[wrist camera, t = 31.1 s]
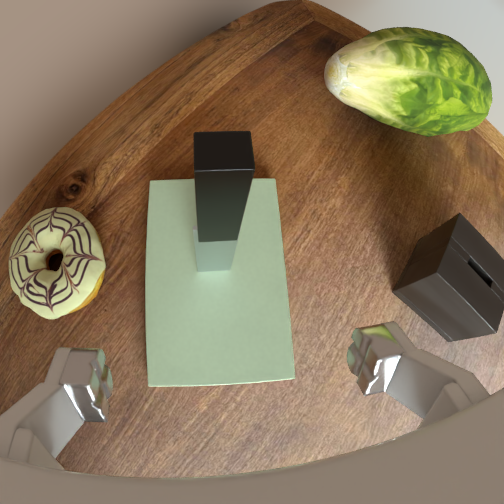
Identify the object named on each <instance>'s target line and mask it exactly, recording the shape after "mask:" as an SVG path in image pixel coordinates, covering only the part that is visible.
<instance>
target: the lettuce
mask: <svg viewBox="0 0 504 504" xmlns="http://www.w3.org/2000/svg"><path fill="white" fill-rule="evenodd" d="M324 79H325V84H326V86H327V89H328V90H329V91H330V92H331V93H332V94H333V95H334V96H335V97H336V98H337V99H339V100H340V101H342V102H343V103H344V104H346V105H349V106H351V107H353V108H355V109H358V110H360V111H361V112H363V113H364V114H366V115H367V116H369V117H370V118H373V119H375V120H377V121H379V122H381V123H384V124H387V125H390V126H393V127H396V128H399V129H402V130H404V131H409V132H414V133H417V134H420V135H424V136H427V137H429V136H435V135H441V134H448V133H453V132H456V131H468V130H470V129H472V128H474V127H476V126H478V125H479V124H480V123H481V122H482V121H483V120H484V119H485V117H486V116H487V115H488V112H489V109H490V106H491V103H492V91H491V83H490V80H489V78H488V76H487V73H486V71H485V69H484V67H483V65H482V64H481V63H480V62H479V61H478V60H477V59H476V58H475V57H474V56H473V54H472V53H470V52H469V51H468V50H467V49H466V48H465V47H464V46H463V45H462V44H460V43H459V42H457V41H456V40H454V39H453V38H451V37H449V36H446V35H443V34H440V33H437V32H433V31H428V30H424V29H419V28H409V27H397V28H387V29H382V30H378V31H375V32H372V33H370V34H368V35H367V36H365V37H364V38H362V39H360V40H358V41H355V42H353V43H350V44H348V45H346V46H344V47H343V48H341V49H340V50H339V51H337V52H336V53H335V54H334V55H333V56H331V57H330V58H329V59H328V61H327V63H326V66H325V71H324Z"/></svg>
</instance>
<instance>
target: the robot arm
mask: <svg viewBox="0 0 504 504" xmlns="http://www.w3.org/2000/svg"><path fill="white" fill-rule="evenodd" d="M351 338H352V339H353V341H354V342H353V343H352V344H351V345H350V347H349V348H348V352H347V363H348V366H349V369H350V371H351V373H353V374H354V375H356V376H358V380H357V384H358V385H359V387H360V389H361V391H362V393H363V395H364V396H367V395H371V394H375V393H380V392H384V391H386V393H387V394H389V395H390V396H391V397H393V398H394V399H396V400H397V401H399V402H400V403H401V404H403V405H404V406H406V407H407V408H409V409H410V410H411V411H413V412H414V413H416V414H417V415H419V416H420V417H421V418H423V420H422V422H421V423H420V425H419V426H418V428H417V430H415V431H412V432H410V433H407V434H404V435H402V436H399V437H396V438H393V439H390V440H388V441H385V442H382V443H379V444H375V445H372V446H369V447H366V448H363V449H359V450H356V451H352V452H349V453H345V454H341V455H337V456H334V457H330V458H325V459H321V460H317V461H312V462H308V463H303V464H298V465H293V466H287V467H282V468H276V469H270V470H263V471H256V472H248V473H240V474H230V475H219V476H206V477H185V478H141V477H121V476H108V475H97V474H88V473H80V472H73V471H66V470H65V469H64V468H63V467H62V466H61V465H60V464H59V462H58V461H57V460H56V459H55V458H56V457H57V455H58V454H59V453H60V452H61V450H62V449H63V448H64V447H65V445H66V444H67V443H68V442H69V440H70V439H71V438H72V437H73V435H74V434H75V433H76V432H77V430H78V429H79V428H80V427H81V425H82V424H83V423H84V422H83V421H87V422H108V415H109V409H110V405H109V403H108V401H107V399H108V398H109V397H110V396H111V395H112V389H113V383H112V375H111V371H110V369H109V367H108V366H107V365H105V364H104V363H105V358H106V357H105V355H104V352H103V350H101V349H92V348H64V347H59V348H58V349H57V350H56V352H55V355H54V357H53V360H52V362H51V365H50V368H49V370H48V373H47V376H46V379H45V381H44V383H39V384H38V385H37V386H36V387H35V388H33V389H32V390H31V391H30V392H28V393H27V394H26V395H25V396H24V397H22V398H21V399H20V400H19V401H18V402H16V403H15V404H14V405H13V406H12V407H10V408H9V409H8V410H7V411H6V412H4V413H3V414H2V415H1V416H0V504H504V388H502V389H501V390H499V391H497V392H495V393H494V394H492V395H490V394H489V393H488V392H487V391H486V389H485V388H484V387H483V385H482V384H481V383H480V382H479V380H478V379H477V378H476V377H475V375H474V374H473V373H471V372H469V371H467V370H465V369H463V368H460V367H458V366H456V365H454V364H452V363H450V362H448V361H446V360H443V359H441V358H439V357H437V356H435V355H433V354H431V353H429V352H427V351H424V350H422V349H417V348H416V347H415V346H414V344H413V343H412V342H411V340H410V339H409V338H408V337H407V335H406V334H405V333H404V332H403V330H402V329H401V328H400V327H399V325H398V324H397V323H396V322H394V321H392V322H387V323H382V324H377V325H372V326H366V327H361V328H356V329H355V330H354V331H353V334H352V337H351Z"/></svg>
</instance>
